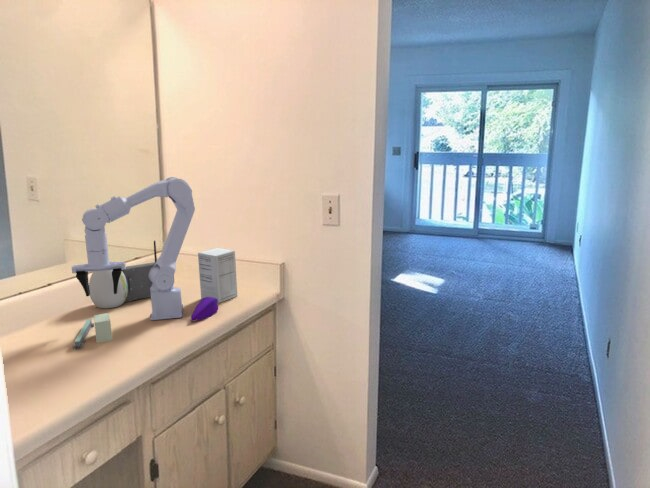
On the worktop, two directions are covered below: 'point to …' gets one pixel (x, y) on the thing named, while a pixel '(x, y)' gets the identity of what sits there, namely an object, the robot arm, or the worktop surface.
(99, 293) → the decorative egg
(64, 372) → the worktop surface
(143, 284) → the electronic device
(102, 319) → the soap box
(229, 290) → the supplement box
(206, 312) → the crystal
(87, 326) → the rail
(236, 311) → the worktop surface
